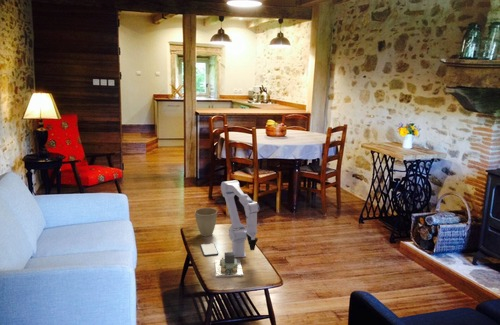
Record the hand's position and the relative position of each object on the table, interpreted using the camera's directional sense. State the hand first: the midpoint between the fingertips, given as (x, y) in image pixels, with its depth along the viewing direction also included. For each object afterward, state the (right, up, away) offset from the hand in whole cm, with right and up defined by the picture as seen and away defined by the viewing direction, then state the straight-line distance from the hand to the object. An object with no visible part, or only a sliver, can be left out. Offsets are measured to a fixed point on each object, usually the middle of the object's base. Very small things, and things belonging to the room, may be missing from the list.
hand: (251, 247), depth 230 cm
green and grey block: (-12, -8, -5) cm, 15 cm away
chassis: (-12, -11, -4) cm, 17 cm away
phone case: (-25, -7, +20) cm, 33 cm away
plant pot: (-29, -1, +45) cm, 54 cm away
